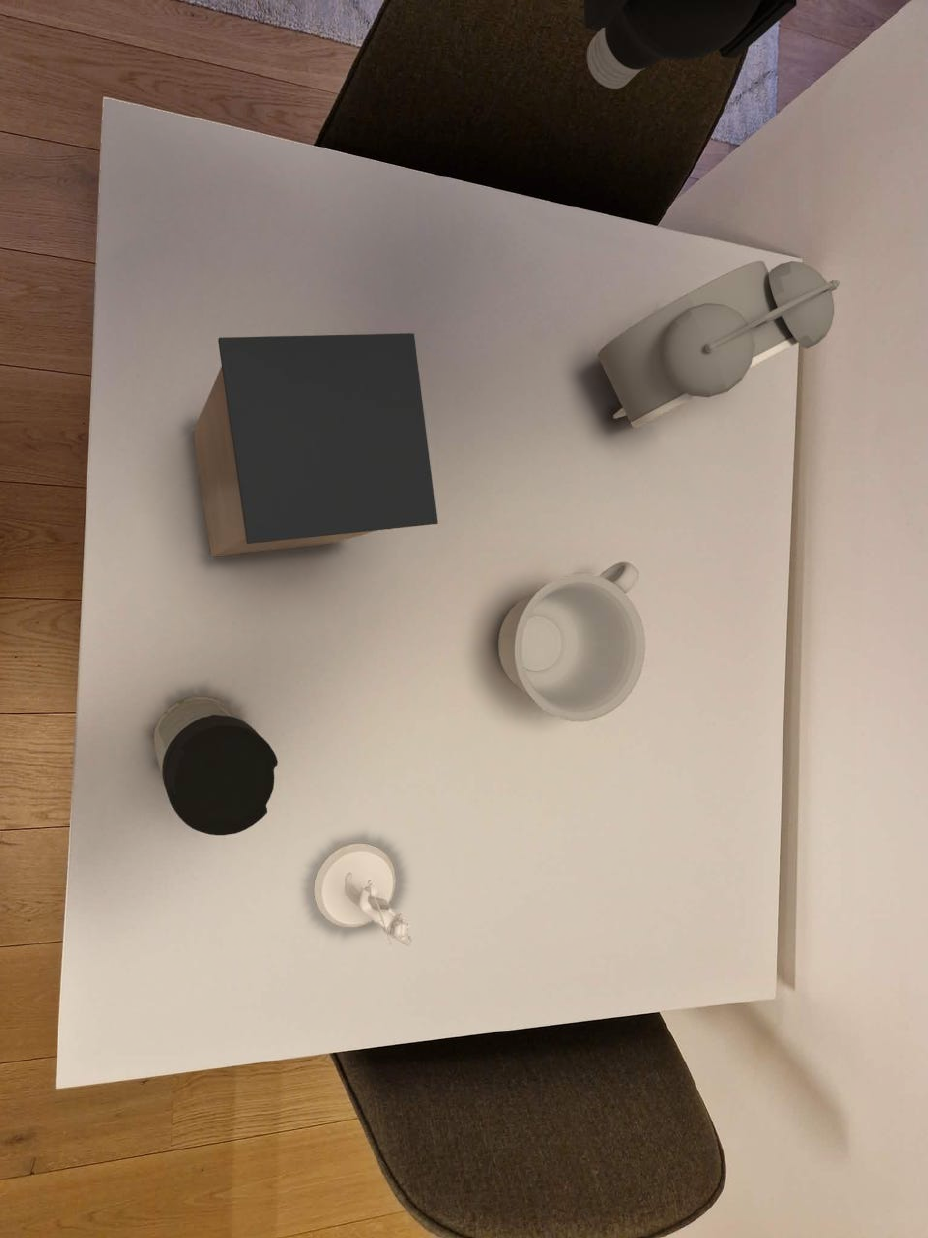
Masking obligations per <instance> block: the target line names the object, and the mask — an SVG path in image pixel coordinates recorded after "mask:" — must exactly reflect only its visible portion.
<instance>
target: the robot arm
mask: <svg viewBox="0 0 928 1238" xmlns="http://www.w3.org/2000/svg"><path fill="white" fill-rule="evenodd" d="M803 1H806V2H811V1H814V0H803ZM627 2H628V0H583V17H584V27H585V29H587V30H589V31H594V32H599V31H600V30H601V29H602V28H605V27H606V26H607V25H608V24H609V23H610V21H611V20H612V19H613V18H614V17H615V16H616V14H617V13H618V12H619V11H620V10H621V9H622V7H623V6H624V5H625V4H626V3H627ZM797 2H798V1H797V0H761V1H760V3H759V5H758V7H757V9H756V11H755V12H754V14H753V16H752V17H751V19H750V21H749V22H748V23H747V25H746V26H745V27H744V28H743V29H742V31H741V32H740V33H739V34H738V35H737V36H736V37H735V38H734V39H733V40H732V41H731V42H729V43H728V44H727V45H725V46H724V47H722V48H720V49H719V50H718V51H719V53H720V55H721V57H723V58H726V59H730V60H734V59H737V58H738V57H740V55H741V54H743V53H744V52H745V51H746V50H747V49H748V48H749V47H751V46H752V45H753V44H754V43H755V42H756V41H758V39H760V38H761V37H762V36H763V35H765V34H766V33H767V32H768V31H769V30H770V29H771V28H773V26H775V25H776V24H777V23H778V22H779V21H780V20H782V19H783V18H784V17H785V16H786V15H787V14H789V13H790V12H791V11H792V10H793V9H794V8H795V7H797V4H798V3H797Z"/></svg>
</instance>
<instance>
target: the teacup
mask: <svg viewBox="0 0 928 1238" xmlns="http://www.w3.org/2000/svg"><path fill="white" fill-rule="evenodd" d="M639 574H640V573H639V571H638V568H637V567H636V566H635V565H634V564H632V563H630V562H629V561H620V562H617V563H614V564H613V565H610V567H608V568H607V569H605V570H604V571H603V572H602V573H600V575H595V574H591V573H574V574H567V575H564V576H561V577H557V578H556V579H554V580H552V581H550V582H549V583H547V584H546V585H544V586H543V587H542V588H540V589H539V590H538V591H537V592H536V593H533V594H531V595H529V596H527V597H525V598H523V599H521V601H518V603H516V604H515V605H514V606H513V607H512V608H511V609H510V610H509V611H508V613H507V615H506V616H505V618H504V620H503V622H502V623H501V627H500V630H499V634H498V640H497V641H498V643H497V651H498V657H499V660H500V664H501V666H502V669H503V670H504V672H505V674H506V675H507V677H508V678H509V679H510V681H512V683H513V684H514V685H515V686H517V687H518V688H519V689H521V690H522V691H523V692H525V693H526V694H527V695H529V697H530V698H531V699H532V700H533V702H535V703H536V705H538V706H539V707H540V708H541V709H542V710H543V711H545V712H546V713H548V714H549V715H552V716H553V717H555V718H558V719H561V720H564V721H569V722H578V723H579V722H588V721H593V720H597V719H599V718H602V717H604V716H606V715H608V714H609V713H611V712H614V710H616V709H617V708H618V707H620V706H621V705H622V704H623V703H624V702H625V701H626V700H627V699H628V697H630V695H631V694H632V692H633V691H634V689H635V687H636V685H637V683H638V681H639V679H640V677H641V673H642V671H643V667H644V661H645V654H646V637H645V630H644V626H643V625H644V624H643V621H642V619H641V615H640V614H639V612H638V610H637V608H636V606H635V604H634V602H633V601H632V600H631V599H630V597H629V596H628V593H629V592H630V591H631V590H632V589H633V588H634V587H635V585H636V583H637V582H638V580H639V578H640V577H639V576H640V575H639Z"/></svg>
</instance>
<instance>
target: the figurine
mask: <svg viewBox="0 0 928 1238" xmlns="http://www.w3.org/2000/svg"><path fill="white" fill-rule="evenodd" d="M396 880H397V879H396V872H395V868H394V865H393V864H392V861H391V859H390V858H389V857H388V856H387V854H386V853H385V852H384V851H382V849H380V848H378V847H376V846H374V845H371V844H366V843H352V844H347V845H345V846H343V847H340V848H338V849H336V850H335V851H334V852H332V853H331V854H330V855H329V856H328V857H327V858H326V859H325V860H324V861H323V863H322V864H321V865H320V868H319V869H318V871H317V874H316V876H315V880H314V888H313V891H314V893H313V894H314V899H315V902H316V906H317V908H318V909H319V912H320V913H321V914H322V915H323V916H324V918H325V919H326V920H328V921H329V922H331V923H332V924H334V925H337V926H339V927H344V928H357V927H361V926H365V925H367V924H369V923H372V922H373V923H374V925H376V926H378V927H380V929H381V930H382V931H383V932H384V933H385V935H386V936H387V940H388V942H389V945H390V947H391V950H392V951H393V950H394V948H393V945H392V941H391V938H393V939H395V940H396V941H397V942H399V943H401V944H404V945H406V946H407V947H409V946H410V945H411V944H412V938H411V936H410V935H409V933H408V929H409V928H410V926H411V925H410V924H409V923H407V922H406V921H405V918H404V916H403V913H401V912H400V911H397V910H396V909H394V908H392V907H391V905H390V903H391V901H392V899H393V897H394V894H395V890H396V883H397V881H396ZM399 912H400V913H399ZM390 937H391V938H390Z"/></svg>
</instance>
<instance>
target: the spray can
mask: <svg viewBox="0 0 928 1238" xmlns="http://www.w3.org/2000/svg"><path fill="white" fill-rule="evenodd" d="M153 748H154V752H155V753H154V754H155V757H156V759H157V764H158V767H159V771H160V775H161V778H162V782H163V785H164V788H165V791H166V795H167V798H168V800H169V803H170V804H171V807H172V809H173V811H174V812H175V814H176V815H177V816H178V818H179V819H180V820H181V821H182V822H183V823H184V824H185V825H187V826H188V827H190V828H191V829H193V830H195V831H197V832H200V833H203V834H206V835H210V836H230V835H236V834H238V833H241V832H244V831H246V830H247V829H249V828H251V827H253V826H254V825H256V824H257V823H258V822H259V821H261V820H262V819H263V818H264V817H265V816H266V814H268V808H267V804H268V802H269V800H270V798H271V796H272V794H273V791H274V786H275V768H276V767H277V766H278V765H279V762H278V758H277V755H276V753H275V751H274V750H273V749H272V747H271V746H270V744H269V743H268V742H267V741H266V740H265V739H264V737H262V736H261V735H260V733H259V732H257V730H256V729H255V728H254V727H252V726H251V725H250V724H248V723H247V722H246V721H245V720H244V719H243V718H242V717H240V716H239V715H238V714H237V713H236V712H234V710H232V709H231V708H230V707H228V706H227V705H226V704H225V703H223V702H222V701H219V700H217V699H215V698H212V697H207V696H192V697H187V698H184V699H181V700H179V701H177V702H176V703H174V704H172V705H171V706H170V707H169V708H168V709H166V710H165V712H163V714H162V715H161V717H160V718H159V719H158V722H157V723H156V727H155V729H154V732H153Z"/></svg>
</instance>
